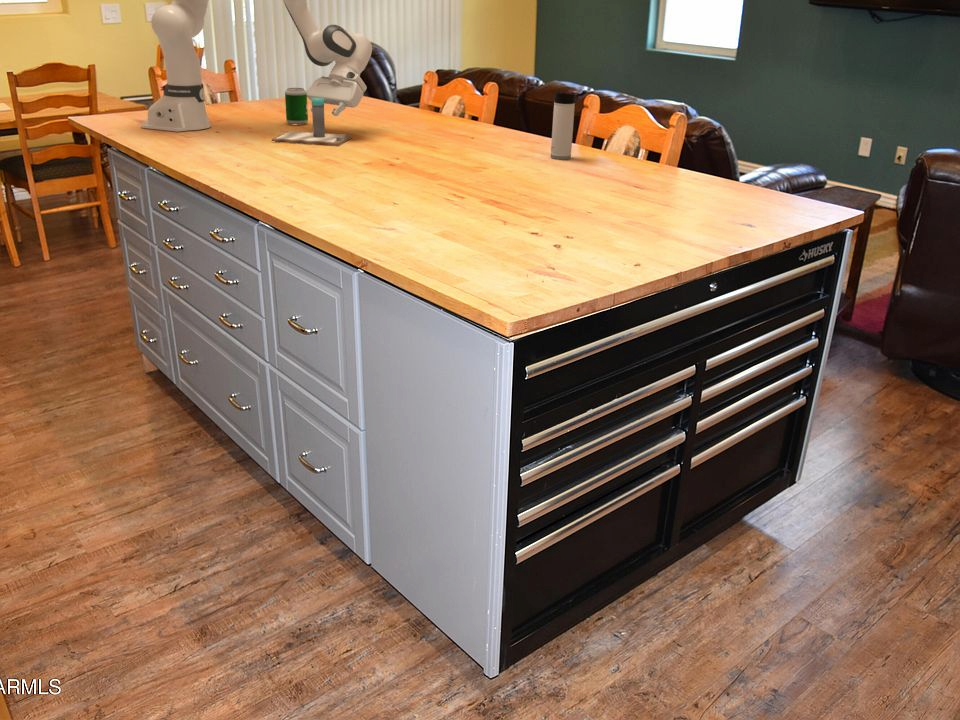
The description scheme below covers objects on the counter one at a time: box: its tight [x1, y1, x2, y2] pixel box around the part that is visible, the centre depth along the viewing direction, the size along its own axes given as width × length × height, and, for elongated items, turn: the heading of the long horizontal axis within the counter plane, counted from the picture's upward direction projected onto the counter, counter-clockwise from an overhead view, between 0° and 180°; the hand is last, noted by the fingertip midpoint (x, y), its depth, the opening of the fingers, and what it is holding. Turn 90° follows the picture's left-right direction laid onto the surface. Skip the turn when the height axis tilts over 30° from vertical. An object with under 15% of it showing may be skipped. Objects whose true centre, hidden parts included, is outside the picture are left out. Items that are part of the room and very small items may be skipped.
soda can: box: [284, 87, 309, 126], centre depth 315 cm, size 8×8×12 cm
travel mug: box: [550, 91, 576, 161], centre depth 275 cm, size 6×7×20 cm
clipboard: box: [271, 130, 352, 147], centre depth 292 cm, size 22×15×2 cm
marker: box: [310, 98, 326, 138], centre depth 290 cm, size 4×4×12 cm
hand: (323, 113), depth 291 cm, fingers open, 8 cm apart
